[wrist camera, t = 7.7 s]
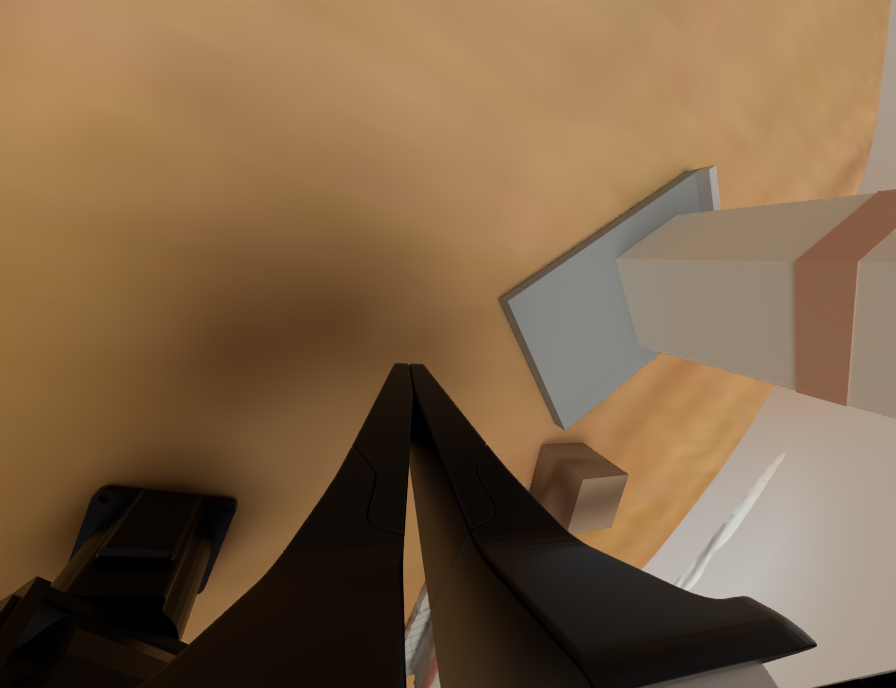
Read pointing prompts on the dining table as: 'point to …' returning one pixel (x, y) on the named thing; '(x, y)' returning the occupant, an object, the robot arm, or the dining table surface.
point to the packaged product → (421, 645)
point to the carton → (777, 295)
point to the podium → (595, 304)
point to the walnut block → (577, 486)
